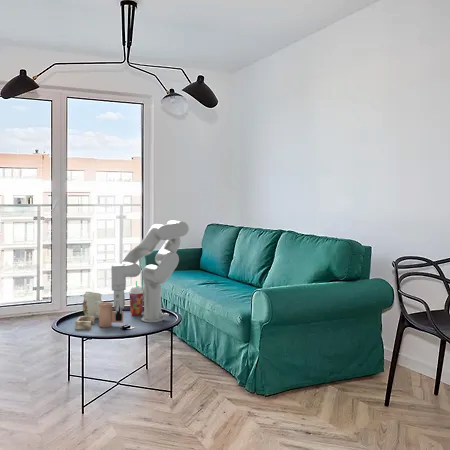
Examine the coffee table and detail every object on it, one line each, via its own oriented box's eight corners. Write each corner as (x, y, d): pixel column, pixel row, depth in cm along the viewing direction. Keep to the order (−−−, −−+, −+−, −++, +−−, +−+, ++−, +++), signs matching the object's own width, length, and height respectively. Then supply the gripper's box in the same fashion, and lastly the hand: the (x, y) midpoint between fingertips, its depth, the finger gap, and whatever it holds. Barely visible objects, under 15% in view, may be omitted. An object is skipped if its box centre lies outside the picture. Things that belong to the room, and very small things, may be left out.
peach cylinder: (123, 324, 280) (124, 302, 279) (122, 327, 273) (122, 306, 272) (99, 323, 279) (99, 302, 278) (96, 327, 271) (97, 305, 270)
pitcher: (91, 322, 281) (90, 298, 280) (77, 316, 295) (77, 292, 294) (109, 319, 288) (109, 295, 287) (95, 313, 302) (95, 290, 301)
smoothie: (144, 312, 304) (144, 279, 302) (142, 316, 296) (142, 282, 294) (130, 312, 304) (130, 279, 302) (128, 316, 295) (128, 282, 294)
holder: (94, 323, 280) (94, 316, 280) (90, 329, 269) (90, 321, 269) (79, 323, 280) (79, 316, 279) (75, 329, 268) (75, 321, 268)
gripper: (124, 289, 267) (124, 324, 268) (127, 284, 282) (127, 316, 284) (109, 289, 266) (110, 324, 268) (113, 284, 282) (113, 316, 283)
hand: (118, 320), depth 276 cm, fingers closed on peach cylinder, 1 cm apart
